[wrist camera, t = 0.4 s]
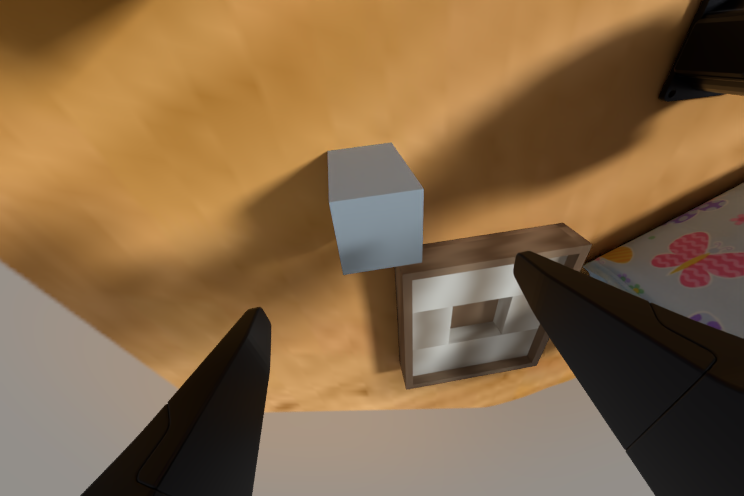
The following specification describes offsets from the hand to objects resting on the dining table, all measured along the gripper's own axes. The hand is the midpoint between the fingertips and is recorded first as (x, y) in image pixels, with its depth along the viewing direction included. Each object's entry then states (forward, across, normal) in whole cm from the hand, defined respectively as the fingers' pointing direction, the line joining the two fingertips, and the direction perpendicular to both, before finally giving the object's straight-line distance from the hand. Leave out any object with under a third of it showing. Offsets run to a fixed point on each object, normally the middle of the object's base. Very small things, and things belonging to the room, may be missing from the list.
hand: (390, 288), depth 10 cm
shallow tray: (+13, -9, +18) cm, 24 cm away
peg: (+13, 0, +1) cm, 13 cm away
